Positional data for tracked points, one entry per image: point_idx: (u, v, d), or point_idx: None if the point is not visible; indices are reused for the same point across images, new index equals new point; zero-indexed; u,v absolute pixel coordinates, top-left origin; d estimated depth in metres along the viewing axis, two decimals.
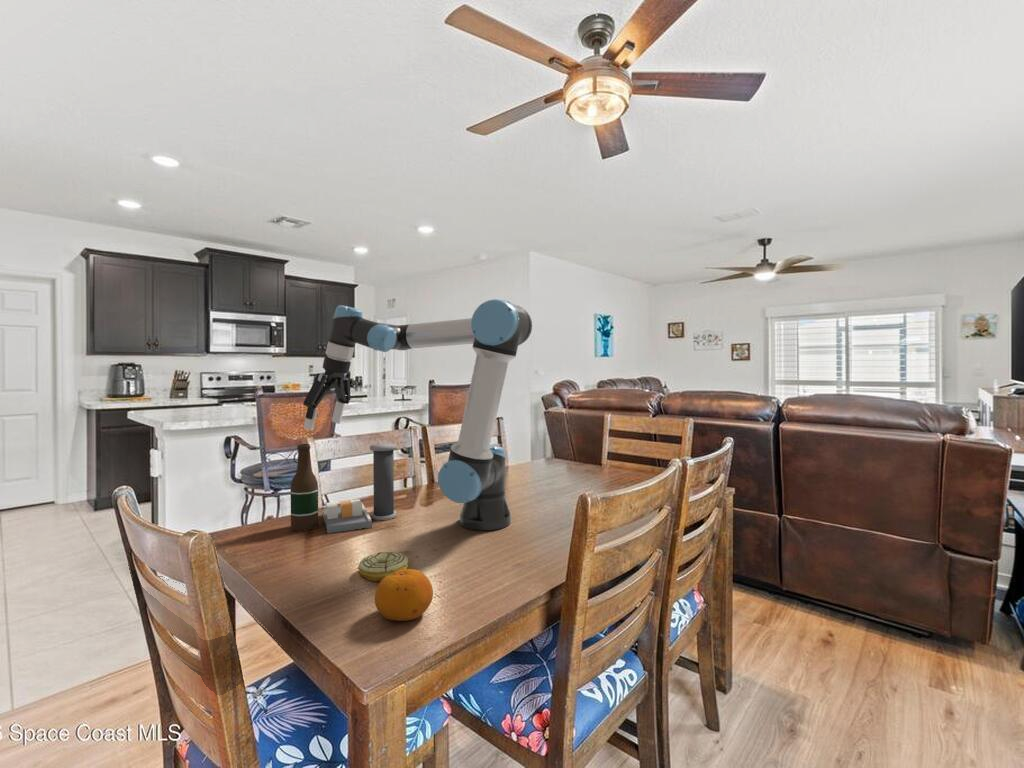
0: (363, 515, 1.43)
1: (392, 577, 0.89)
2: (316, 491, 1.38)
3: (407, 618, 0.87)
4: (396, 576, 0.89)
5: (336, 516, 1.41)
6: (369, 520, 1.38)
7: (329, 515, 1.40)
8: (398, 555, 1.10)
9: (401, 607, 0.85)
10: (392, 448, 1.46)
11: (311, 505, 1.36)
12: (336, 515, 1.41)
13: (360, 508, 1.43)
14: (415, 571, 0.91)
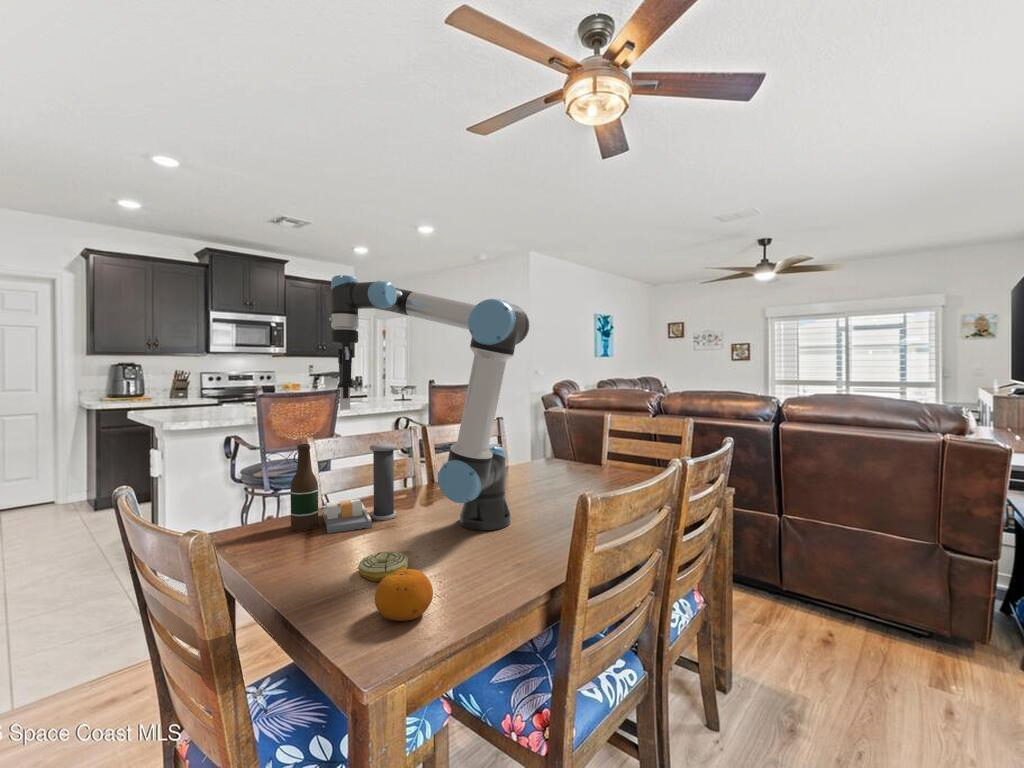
0: (363, 515, 1.43)
1: (392, 577, 0.89)
2: (316, 491, 1.38)
3: (407, 618, 0.87)
4: (396, 576, 0.89)
5: (336, 516, 1.41)
6: (369, 520, 1.38)
7: (329, 515, 1.40)
8: (398, 555, 1.10)
9: (401, 607, 0.85)
10: (392, 448, 1.46)
11: (311, 505, 1.36)
12: (336, 515, 1.41)
13: (360, 508, 1.43)
14: (415, 571, 0.91)
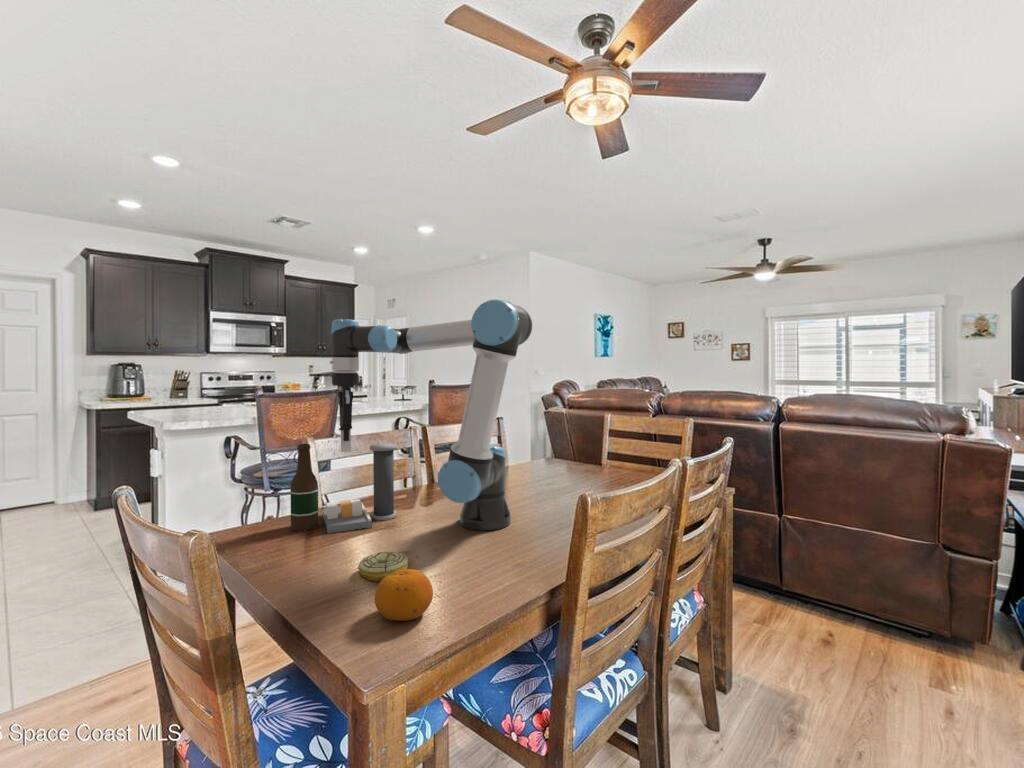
0: (363, 515, 1.43)
1: (392, 577, 0.89)
2: (316, 491, 1.38)
3: (407, 618, 0.87)
4: (396, 576, 0.89)
5: (336, 516, 1.41)
6: (369, 520, 1.38)
7: (329, 515, 1.40)
8: (398, 555, 1.10)
9: (401, 607, 0.85)
10: (392, 448, 1.46)
11: (311, 505, 1.36)
12: (336, 515, 1.41)
13: (360, 508, 1.43)
14: (415, 571, 0.91)
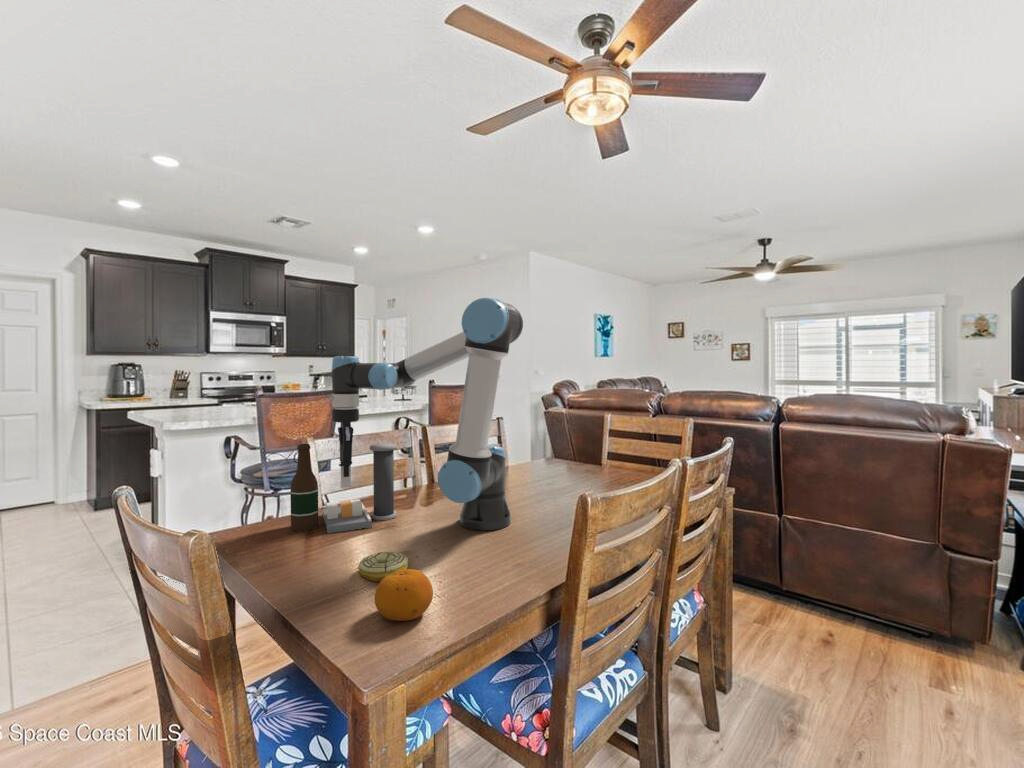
0: (363, 515, 1.43)
1: (392, 577, 0.89)
2: (316, 491, 1.38)
3: (407, 618, 0.87)
4: (396, 576, 0.89)
5: (336, 516, 1.41)
6: (369, 520, 1.38)
7: (329, 515, 1.40)
8: (398, 555, 1.10)
9: (401, 607, 0.85)
10: (392, 448, 1.46)
11: (311, 505, 1.36)
12: (336, 515, 1.41)
13: (360, 508, 1.43)
14: (415, 571, 0.91)
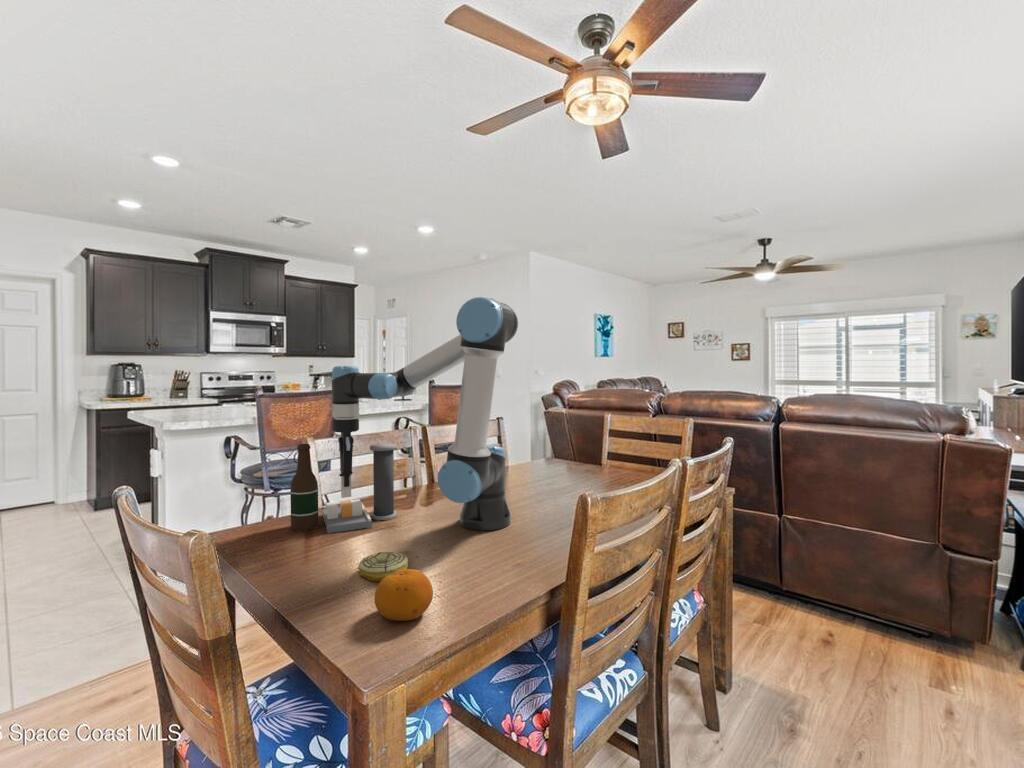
0: (363, 515, 1.43)
1: (392, 577, 0.89)
2: (316, 491, 1.38)
3: (407, 618, 0.87)
4: (396, 576, 0.89)
5: (336, 516, 1.41)
6: (369, 520, 1.38)
7: (329, 515, 1.40)
8: (398, 555, 1.10)
9: (401, 607, 0.85)
10: (392, 448, 1.46)
11: (310, 505, 1.36)
12: (336, 515, 1.41)
13: (360, 508, 1.43)
14: (415, 571, 0.91)
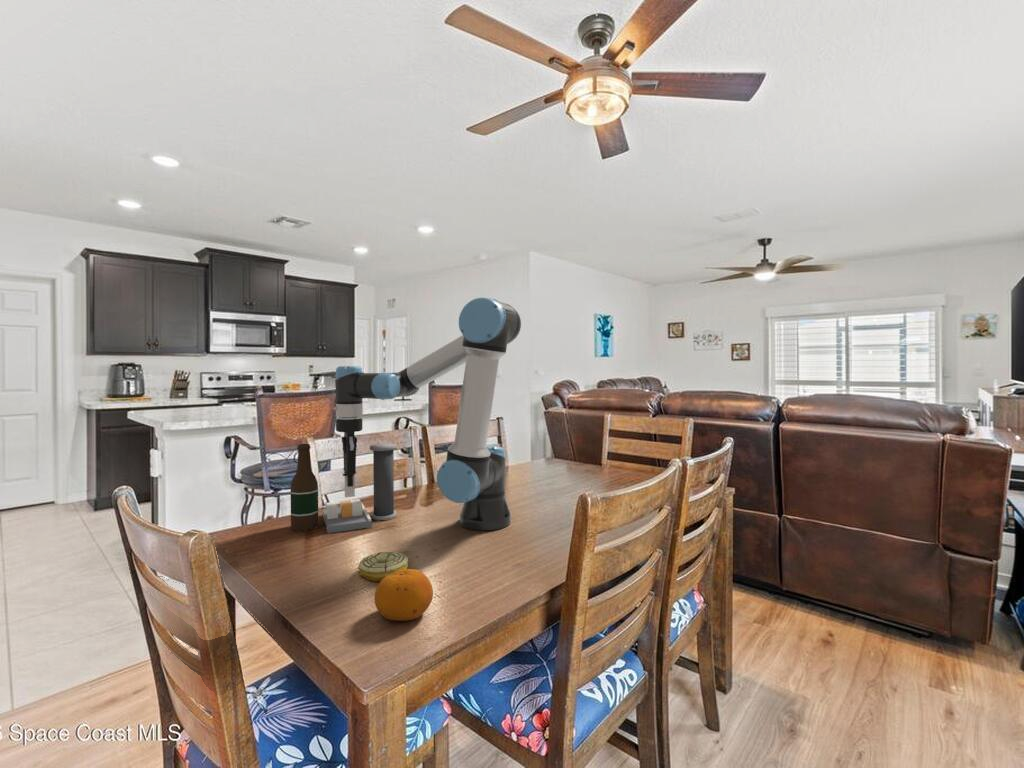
0: (363, 515, 1.43)
1: (392, 577, 0.89)
2: (316, 491, 1.38)
3: (407, 618, 0.87)
4: (396, 576, 0.89)
5: (336, 516, 1.41)
6: (369, 520, 1.38)
7: (329, 515, 1.40)
8: (398, 555, 1.10)
9: (401, 607, 0.85)
10: (392, 448, 1.46)
11: (311, 505, 1.36)
12: (336, 515, 1.41)
13: (360, 508, 1.43)
14: (415, 571, 0.91)
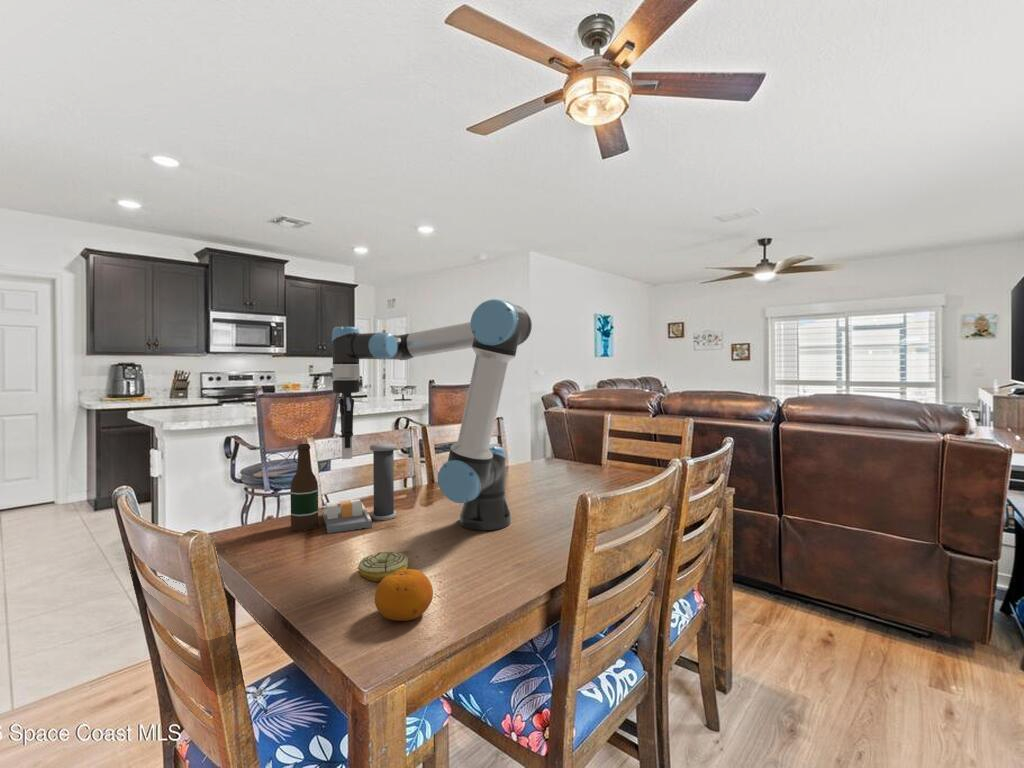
0: (363, 515, 1.43)
1: (392, 577, 0.89)
2: (316, 491, 1.38)
3: (407, 618, 0.87)
4: (396, 576, 0.89)
5: (336, 516, 1.41)
6: (369, 520, 1.38)
7: (329, 515, 1.40)
8: (398, 555, 1.10)
9: (401, 607, 0.85)
10: (392, 448, 1.46)
11: (310, 505, 1.36)
12: (336, 515, 1.41)
13: (360, 508, 1.43)
14: (415, 571, 0.91)
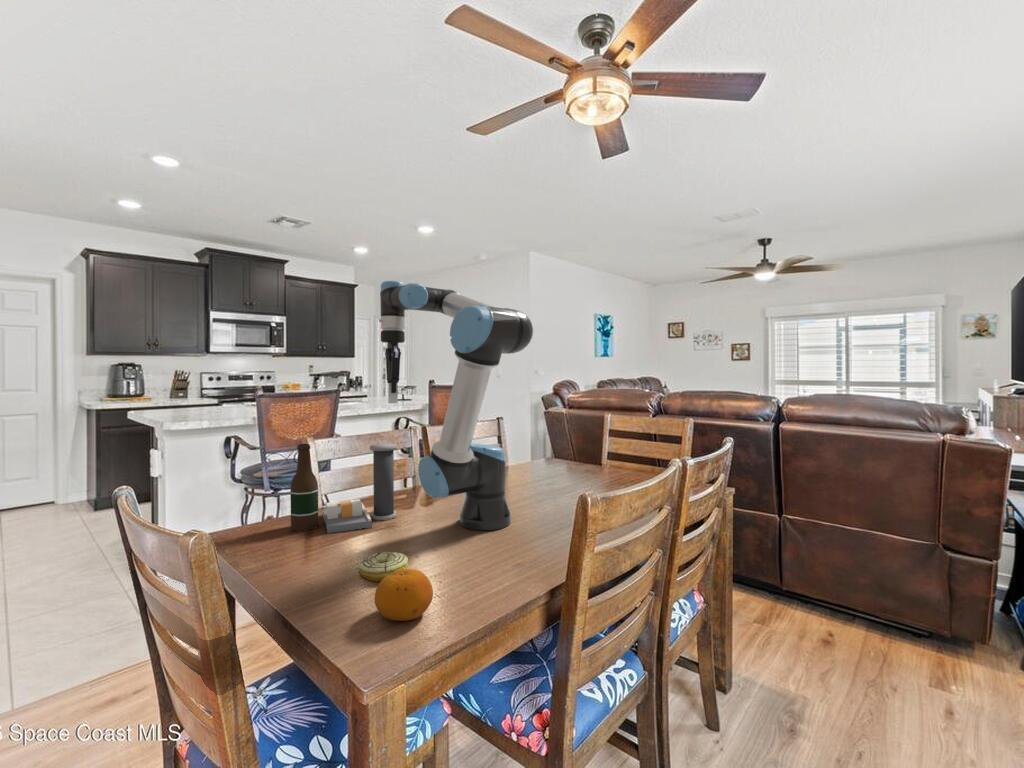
0: (363, 515, 1.43)
1: (392, 577, 0.89)
2: (316, 491, 1.38)
3: (407, 618, 0.87)
4: (396, 576, 0.89)
5: (336, 516, 1.41)
6: (369, 520, 1.38)
7: (329, 515, 1.40)
8: (398, 555, 1.10)
9: (401, 607, 0.85)
10: (392, 448, 1.46)
11: (310, 505, 1.36)
12: (336, 515, 1.41)
13: (360, 508, 1.43)
14: (415, 571, 0.91)
